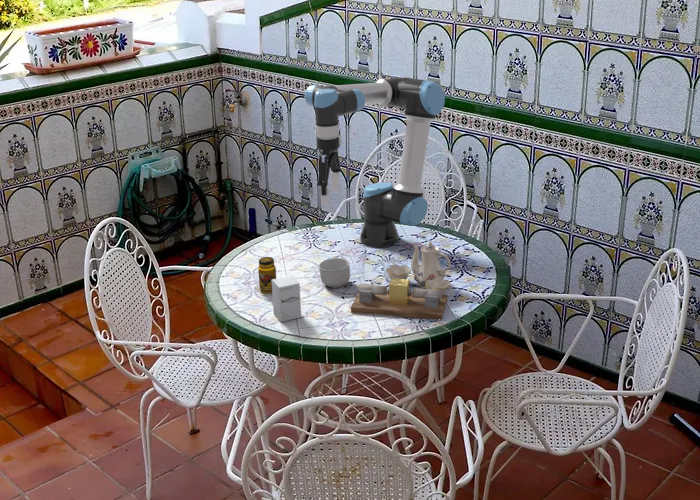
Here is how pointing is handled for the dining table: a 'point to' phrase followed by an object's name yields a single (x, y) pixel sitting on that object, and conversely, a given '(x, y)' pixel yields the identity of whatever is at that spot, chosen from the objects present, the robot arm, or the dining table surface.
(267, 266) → the condiment
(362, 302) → the rig
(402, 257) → the dining table surface
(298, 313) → the supplement box
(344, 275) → the teacup
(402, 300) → the block
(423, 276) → the chinaware
